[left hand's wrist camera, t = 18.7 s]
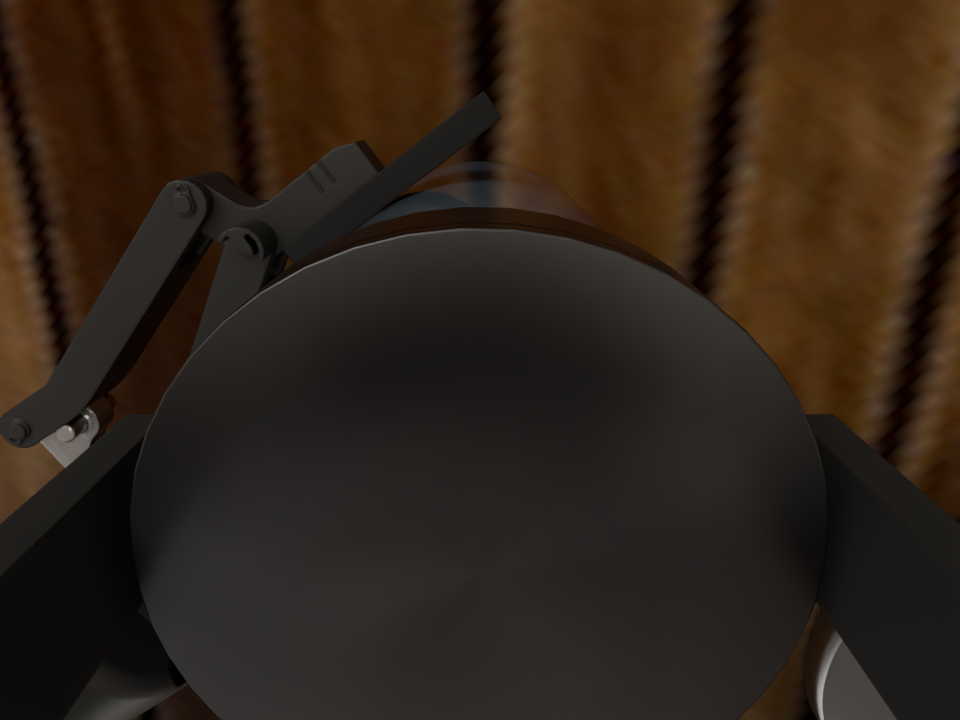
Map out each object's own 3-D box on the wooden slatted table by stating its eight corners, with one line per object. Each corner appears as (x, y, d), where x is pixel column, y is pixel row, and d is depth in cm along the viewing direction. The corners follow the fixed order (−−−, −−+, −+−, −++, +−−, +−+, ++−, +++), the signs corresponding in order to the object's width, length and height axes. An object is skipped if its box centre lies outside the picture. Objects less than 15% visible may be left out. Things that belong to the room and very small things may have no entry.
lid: (668, 756, 15) (696, 853, 13) (168, 674, 14) (117, 766, 12) (872, 285, 11) (956, 323, 9) (207, 136, 10) (143, 142, 8)
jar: (295, 277, 26) (46, 505, 11) (500, 100, 23) (534, 86, 9) (462, 457, 28) (443, 834, 14) (660, 314, 26) (892, 578, 11)
